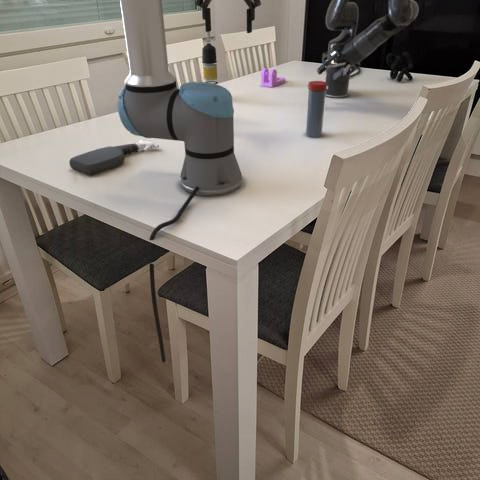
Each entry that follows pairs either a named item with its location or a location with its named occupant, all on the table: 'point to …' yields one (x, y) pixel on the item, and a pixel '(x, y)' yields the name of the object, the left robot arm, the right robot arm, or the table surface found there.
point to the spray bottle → (106, 157)
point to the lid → (317, 85)
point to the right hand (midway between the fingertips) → (326, 75)
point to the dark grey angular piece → (399, 66)
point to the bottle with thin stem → (209, 61)
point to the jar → (315, 113)
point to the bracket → (270, 78)
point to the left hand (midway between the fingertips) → (228, 32)
